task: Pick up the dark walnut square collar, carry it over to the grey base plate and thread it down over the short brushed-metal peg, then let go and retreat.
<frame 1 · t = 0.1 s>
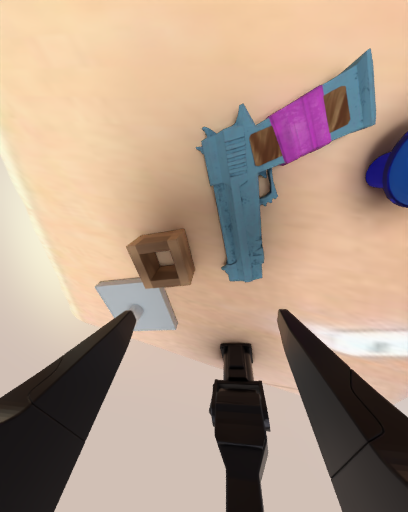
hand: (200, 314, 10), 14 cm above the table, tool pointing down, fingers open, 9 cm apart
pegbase: (141, 303, 31), on the table
collar: (168, 253, 25), on the table
toy: (395, 171, 17), on the table
toy gun: (268, 203, 20), on the table
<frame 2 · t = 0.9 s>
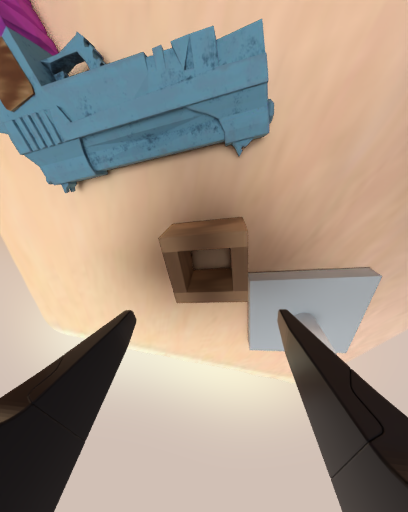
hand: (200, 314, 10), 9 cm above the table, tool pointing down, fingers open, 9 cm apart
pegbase: (297, 310, 20), on the table
collar: (210, 251, 17), on the table
toy gun: (122, 62, 11), on the table
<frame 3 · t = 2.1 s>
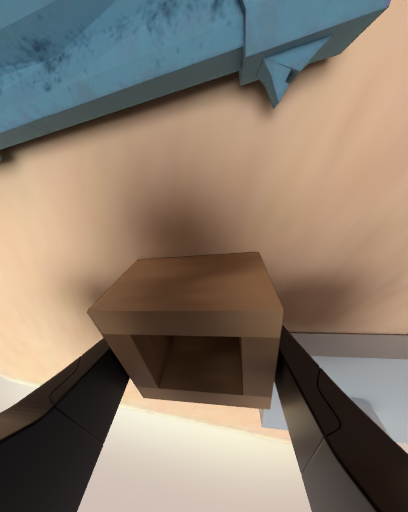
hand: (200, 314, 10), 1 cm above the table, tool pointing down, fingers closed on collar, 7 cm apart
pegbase: (336, 381, 13), on the table
collar: (202, 302, 10), on the table, touching gripper
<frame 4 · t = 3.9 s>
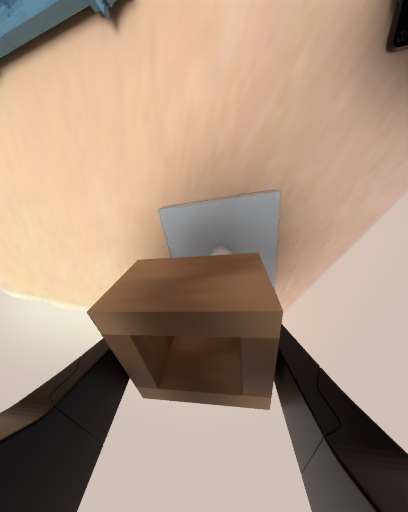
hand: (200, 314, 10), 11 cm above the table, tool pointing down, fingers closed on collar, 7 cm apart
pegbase: (221, 249, 19), on the table
collar: (202, 302, 10), point 10 cm above the table, touching gripper
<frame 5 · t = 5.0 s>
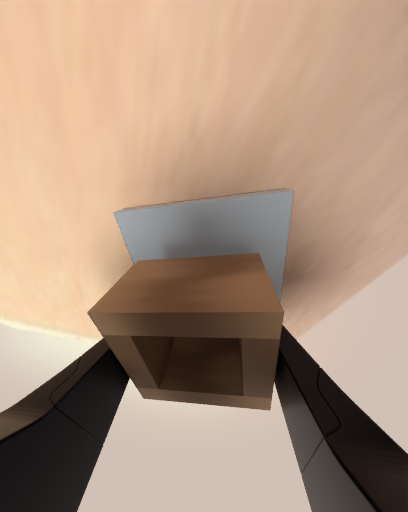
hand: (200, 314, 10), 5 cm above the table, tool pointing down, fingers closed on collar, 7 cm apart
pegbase: (208, 268, 14), on the table
collar: (202, 302, 10), point 4 cm above the table, touching gripper
when the fingers open (4 cm above the table, at t = 5.7 s): collar drops 2 cm, resting on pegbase.
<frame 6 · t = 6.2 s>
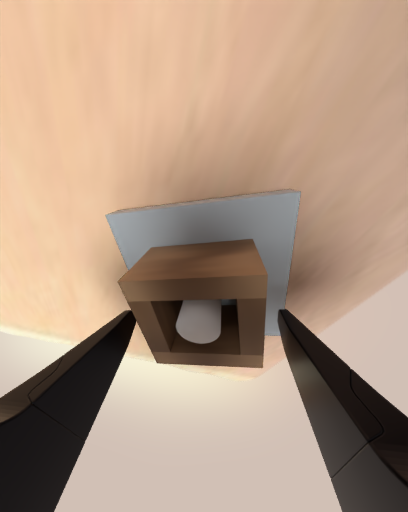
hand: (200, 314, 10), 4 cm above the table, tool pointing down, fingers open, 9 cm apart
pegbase: (207, 273, 13), on the table
collar: (206, 284, 12), point 1 cm above the table, touching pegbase
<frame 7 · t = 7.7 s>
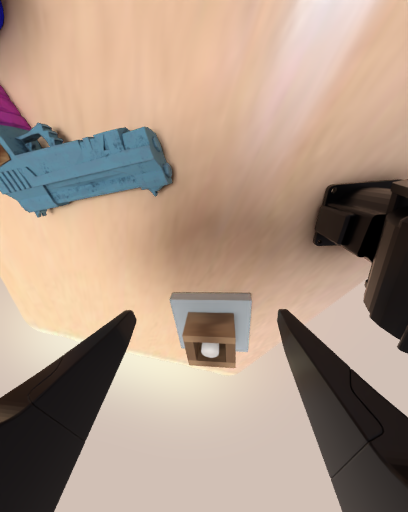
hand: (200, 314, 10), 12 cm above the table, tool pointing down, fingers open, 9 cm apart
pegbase: (212, 320, 27), on the table
collar: (211, 327, 26), point 1 cm above the table, touching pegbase
toy gun: (74, 132, 17), on the table
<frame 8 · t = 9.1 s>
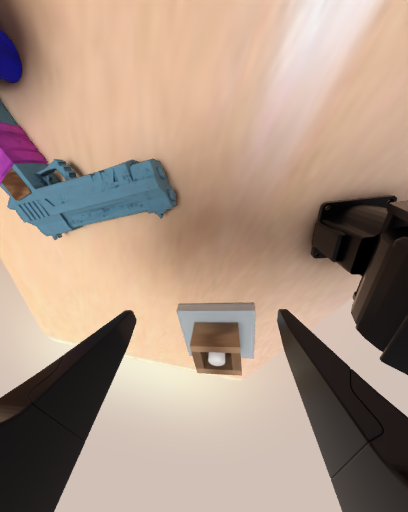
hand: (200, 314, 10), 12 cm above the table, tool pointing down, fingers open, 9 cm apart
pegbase: (218, 328, 28), on the table
collar: (217, 336, 27), point 1 cm above the table, touching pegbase
toy gun: (85, 162, 18), on the table
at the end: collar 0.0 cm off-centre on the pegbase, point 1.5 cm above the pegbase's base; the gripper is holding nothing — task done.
